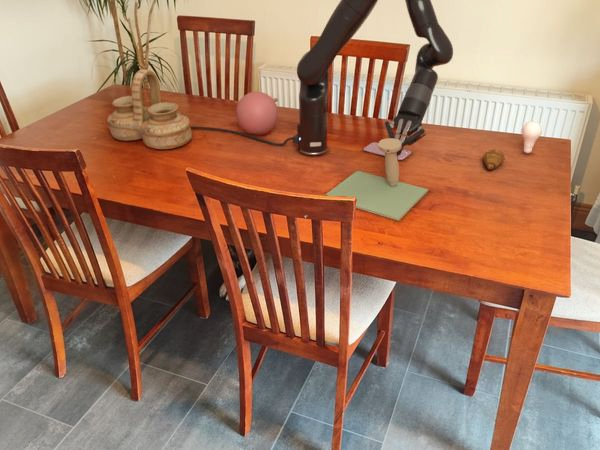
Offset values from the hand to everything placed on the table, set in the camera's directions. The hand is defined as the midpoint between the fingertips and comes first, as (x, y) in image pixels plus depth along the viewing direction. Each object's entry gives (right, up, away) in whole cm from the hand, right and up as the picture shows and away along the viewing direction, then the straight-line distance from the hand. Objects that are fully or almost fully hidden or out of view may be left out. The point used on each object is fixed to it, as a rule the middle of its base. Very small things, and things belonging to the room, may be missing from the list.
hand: (394, 155), depth 159 cm
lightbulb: (+49, +4, +25) cm, 55 cm away
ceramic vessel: (-82, +12, +43) cm, 93 cm away
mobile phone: (+2, +5, +28) cm, 28 cm away
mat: (-5, -11, +2) cm, 13 cm away
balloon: (-41, +15, +46) cm, 64 cm away
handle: (+1, -8, +5) cm, 10 cm away
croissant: (+35, 0, +19) cm, 40 cm away
